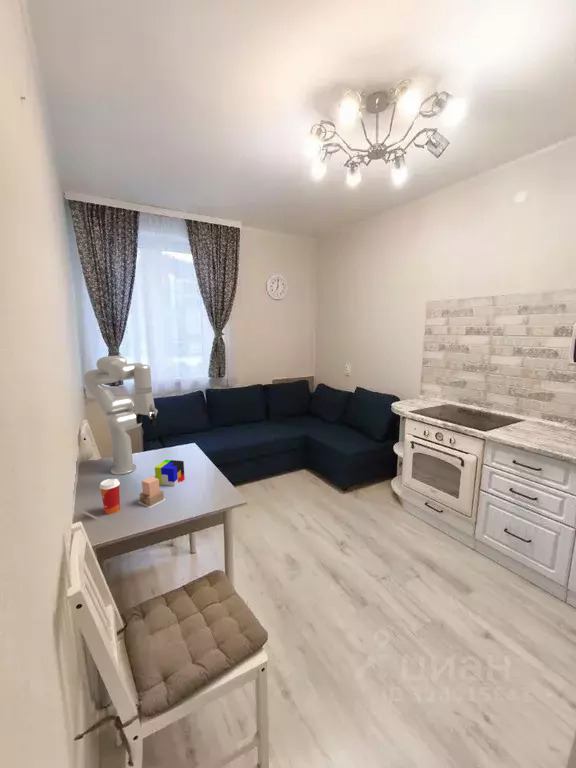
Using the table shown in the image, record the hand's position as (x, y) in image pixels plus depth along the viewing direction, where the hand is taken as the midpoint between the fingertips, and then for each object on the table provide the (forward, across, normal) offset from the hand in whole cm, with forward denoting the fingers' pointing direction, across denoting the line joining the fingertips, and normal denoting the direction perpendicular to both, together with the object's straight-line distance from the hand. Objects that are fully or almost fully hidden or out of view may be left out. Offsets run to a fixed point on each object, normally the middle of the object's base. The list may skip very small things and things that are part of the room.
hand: (146, 424), depth 171 cm
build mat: (+30, +16, -12) cm, 36 cm away
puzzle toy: (+31, +9, +5) cm, 32 cm away
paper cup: (+31, +10, -27) cm, 42 cm away
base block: (+29, +18, -13) cm, 37 cm away
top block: (+25, +18, -13) cm, 34 cm away
